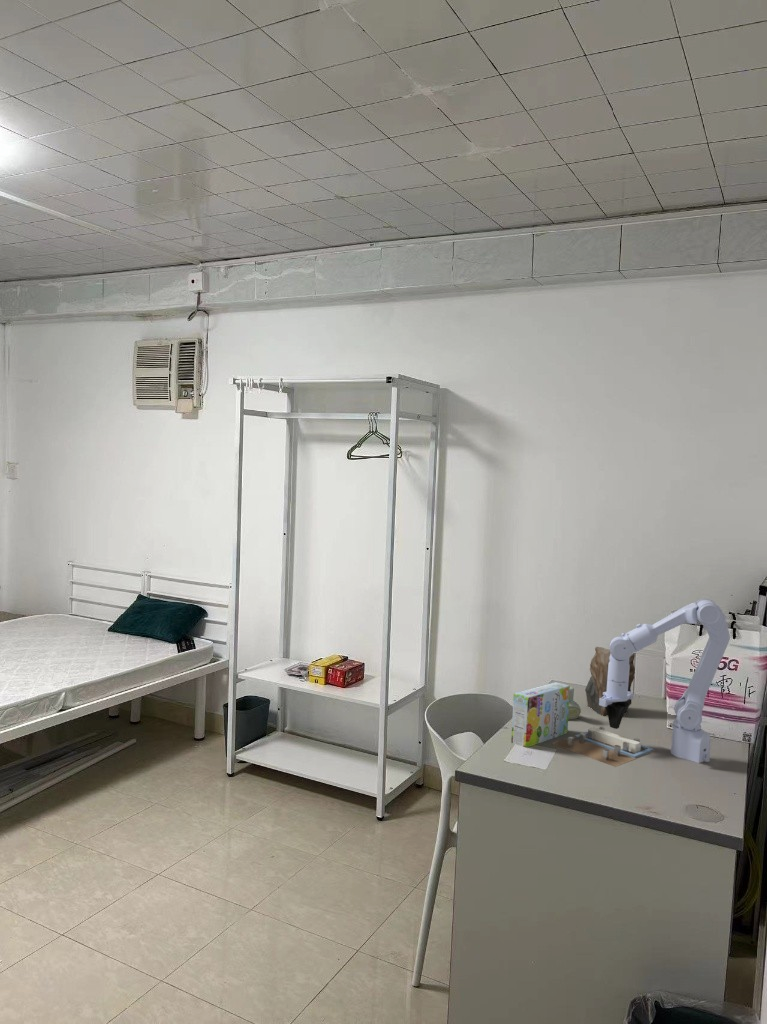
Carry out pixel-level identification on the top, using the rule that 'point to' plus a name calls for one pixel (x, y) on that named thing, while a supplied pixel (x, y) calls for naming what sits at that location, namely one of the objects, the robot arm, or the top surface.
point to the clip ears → (605, 751)
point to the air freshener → (573, 706)
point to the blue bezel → (620, 750)
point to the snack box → (540, 714)
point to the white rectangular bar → (615, 739)
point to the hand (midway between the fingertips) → (614, 727)
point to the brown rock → (603, 679)
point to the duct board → (597, 751)
